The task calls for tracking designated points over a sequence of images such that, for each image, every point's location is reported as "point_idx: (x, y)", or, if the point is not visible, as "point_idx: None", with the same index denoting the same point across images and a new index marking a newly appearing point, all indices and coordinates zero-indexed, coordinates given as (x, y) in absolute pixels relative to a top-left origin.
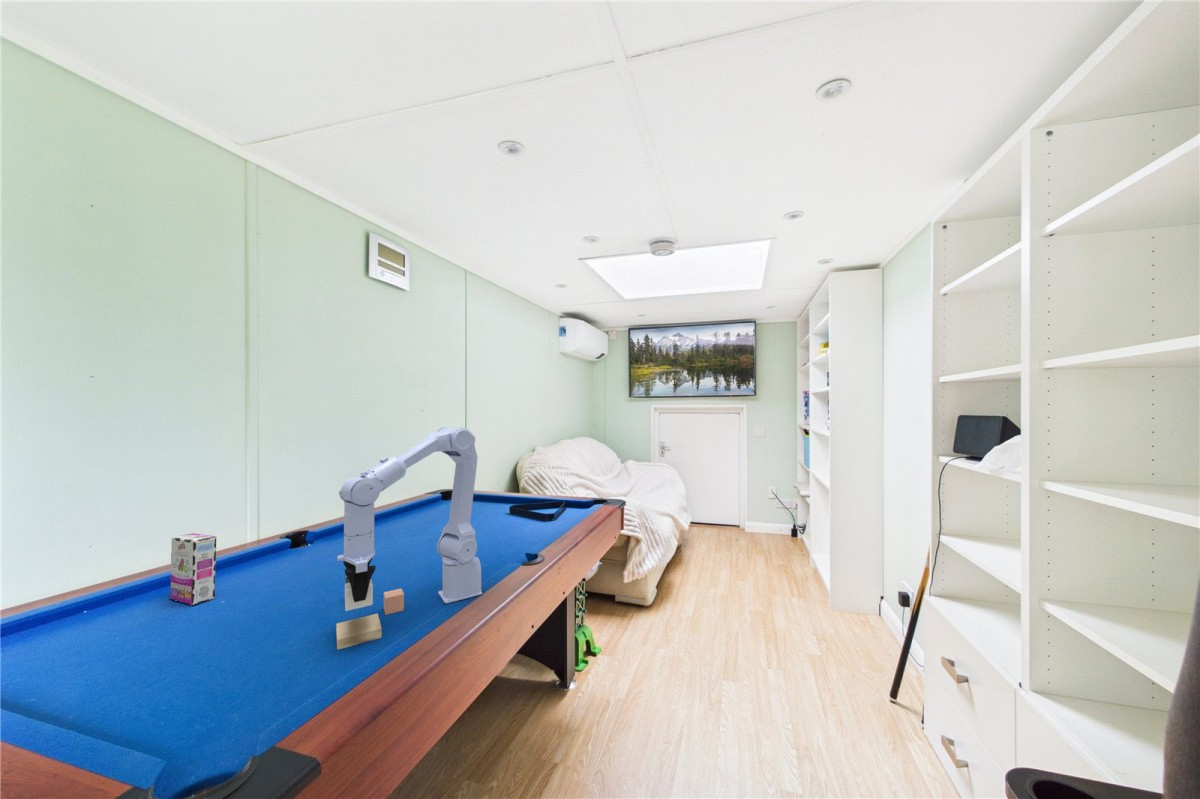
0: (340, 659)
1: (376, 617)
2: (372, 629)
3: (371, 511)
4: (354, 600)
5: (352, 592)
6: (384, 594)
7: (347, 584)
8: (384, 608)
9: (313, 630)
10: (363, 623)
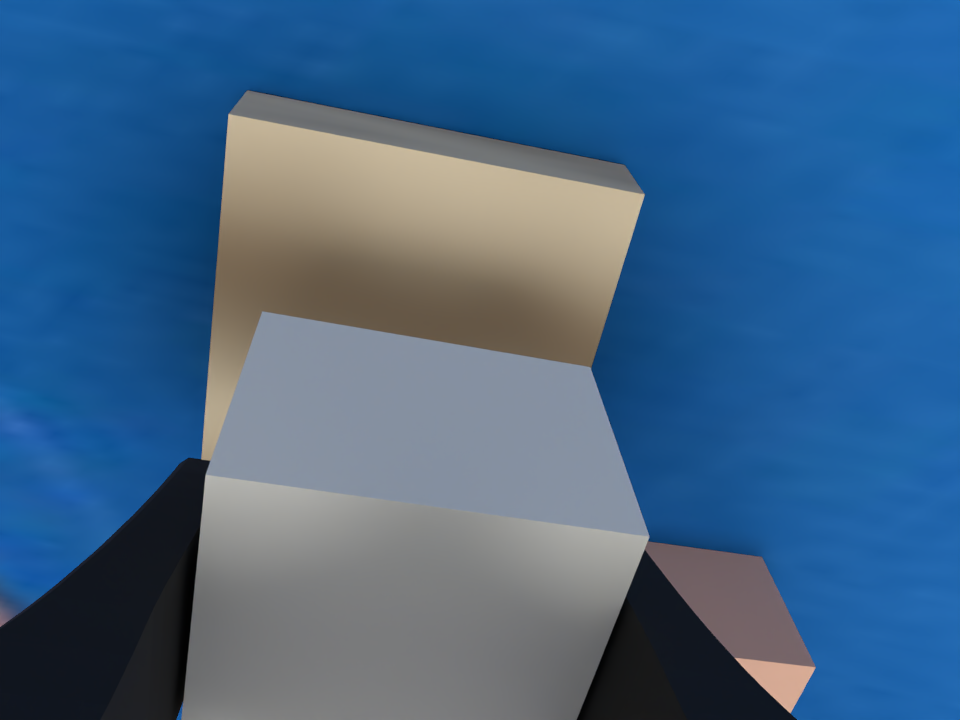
0: (29, 68)
1: None
2: (227, 408)
3: None
4: (175, 473)
5: (109, 540)
6: (759, 660)
7: (568, 558)
8: (709, 565)
9: (891, 6)
10: None
